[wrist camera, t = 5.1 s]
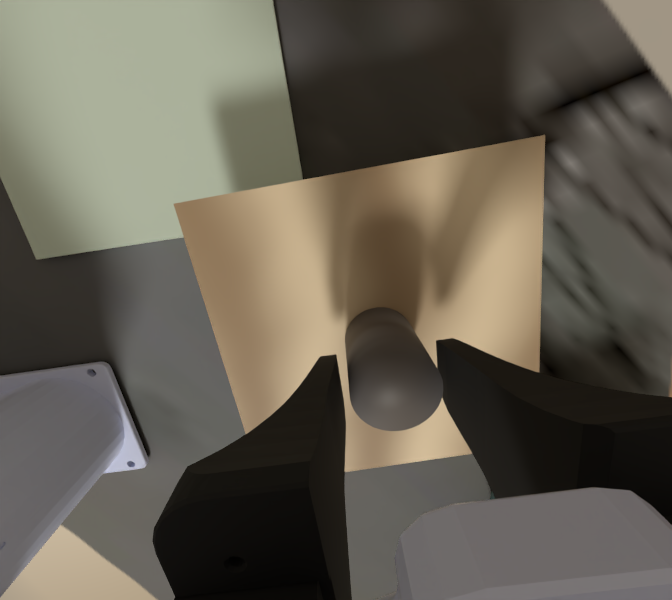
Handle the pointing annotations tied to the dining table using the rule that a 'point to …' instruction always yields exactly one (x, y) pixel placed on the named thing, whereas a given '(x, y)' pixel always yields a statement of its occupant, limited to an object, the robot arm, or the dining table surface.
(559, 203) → the dining table surface
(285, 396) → the lid
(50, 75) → the mat
